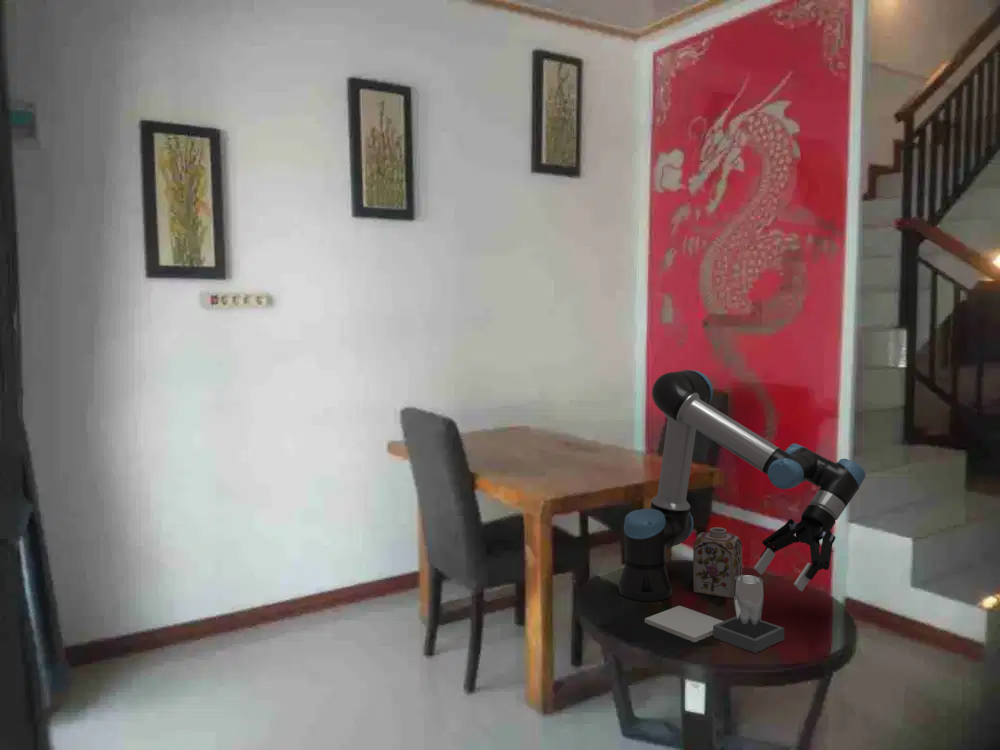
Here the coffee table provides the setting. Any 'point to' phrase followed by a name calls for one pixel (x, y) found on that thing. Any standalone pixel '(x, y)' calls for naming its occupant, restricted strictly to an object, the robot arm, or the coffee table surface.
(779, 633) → the holder
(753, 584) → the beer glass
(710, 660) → the coffee table surface
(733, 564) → the decorative jar
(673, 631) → the board
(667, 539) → the robot arm
